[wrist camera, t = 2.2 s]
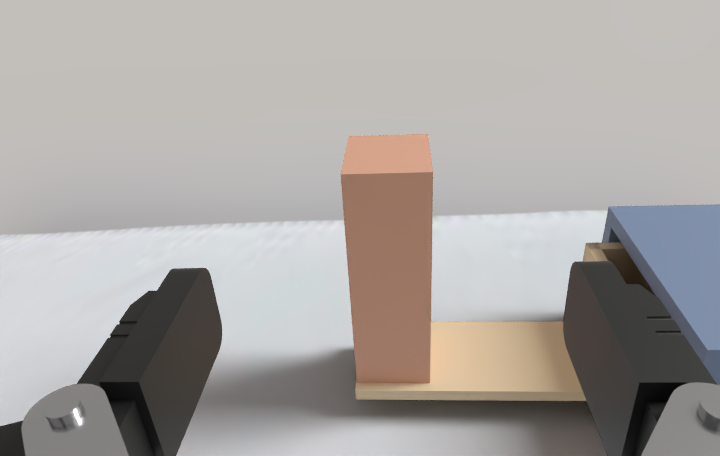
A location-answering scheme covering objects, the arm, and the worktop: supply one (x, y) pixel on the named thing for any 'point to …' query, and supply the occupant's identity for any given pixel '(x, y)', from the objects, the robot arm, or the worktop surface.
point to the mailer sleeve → (678, 266)
